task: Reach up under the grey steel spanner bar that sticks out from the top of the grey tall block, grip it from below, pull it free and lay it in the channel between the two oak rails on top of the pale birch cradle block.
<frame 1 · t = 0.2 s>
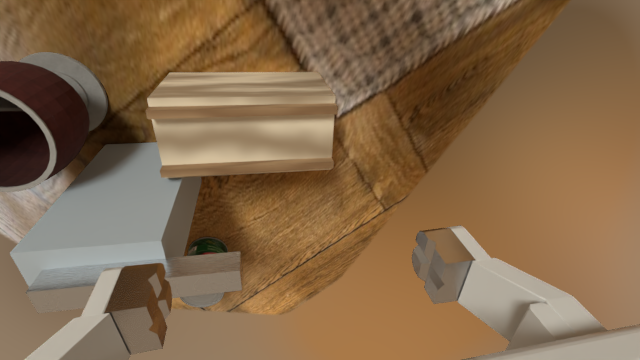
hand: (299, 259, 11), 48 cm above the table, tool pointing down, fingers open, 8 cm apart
grey tall block: (156, 163, 58), on the table
spanner bar: (149, 270, 37), point 26 cm above the table, touching grey tall block
cradle block: (249, 105, 56), on the table
canned tomato: (208, 250, 70), on the table
mate gourd: (59, 89, 50), on the table
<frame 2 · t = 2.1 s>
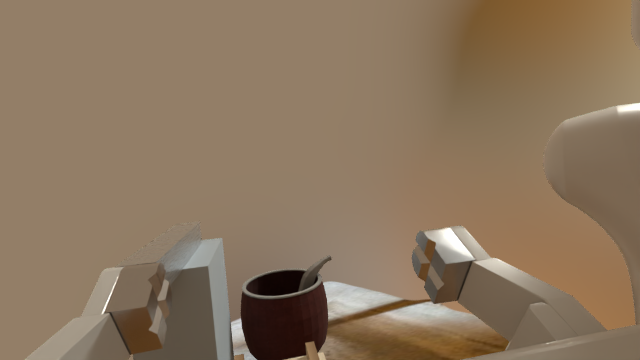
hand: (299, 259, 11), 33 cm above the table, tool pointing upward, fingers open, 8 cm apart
spanner bar: (172, 265, 36), point 26 cm above the table, touching grey tall block
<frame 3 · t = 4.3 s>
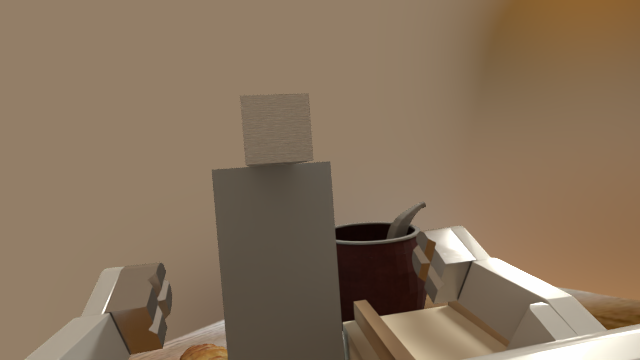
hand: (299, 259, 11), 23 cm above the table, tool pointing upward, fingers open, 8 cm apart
spanner bar: (271, 166, 25), point 26 cm above the table, touching grey tall block
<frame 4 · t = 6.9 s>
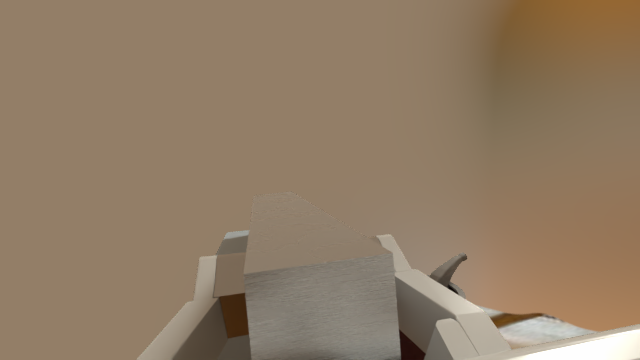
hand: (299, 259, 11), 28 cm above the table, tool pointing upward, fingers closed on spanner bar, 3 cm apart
spanner bar: (288, 267, 17), point 26 cm above the table, touching gripper, grey tall block
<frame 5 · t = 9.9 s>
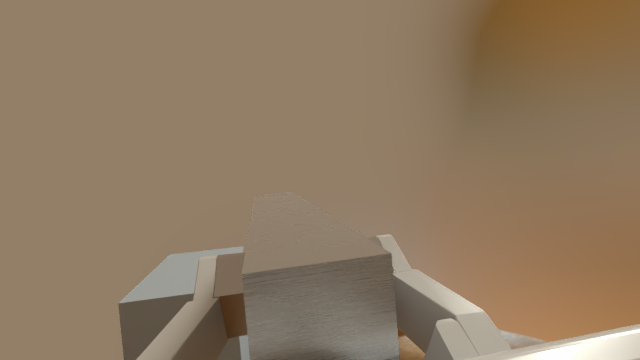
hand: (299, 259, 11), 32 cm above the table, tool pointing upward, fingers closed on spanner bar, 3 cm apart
spanner bar: (288, 267, 17), point 30 cm above the table, touching gripper
when the fingers open (19 cm above the table, at t = 13.1 s): spanner bar drops 4 cm, resting on cradle block.
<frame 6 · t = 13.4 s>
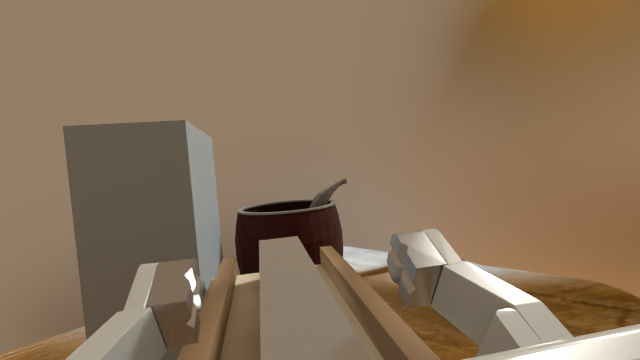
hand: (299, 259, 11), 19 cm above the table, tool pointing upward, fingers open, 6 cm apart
spanner bar: (295, 338, 16), point 13 cm above the table, touching cradle block
mate gourd: (303, 332, 45), on the table
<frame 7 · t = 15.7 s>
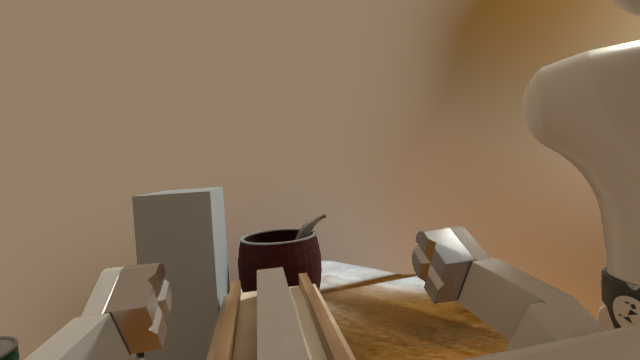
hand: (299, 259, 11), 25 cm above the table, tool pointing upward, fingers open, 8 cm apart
spanner bar: (276, 333, 29), point 13 cm above the table, touching cradle block
mate gourd: (289, 334, 57), on the table
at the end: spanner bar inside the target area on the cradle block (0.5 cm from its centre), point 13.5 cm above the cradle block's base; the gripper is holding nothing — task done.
